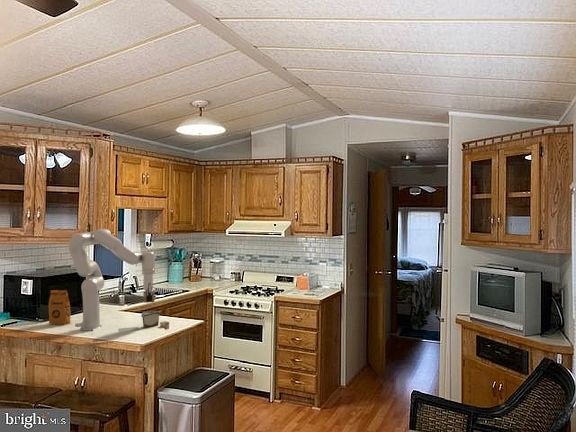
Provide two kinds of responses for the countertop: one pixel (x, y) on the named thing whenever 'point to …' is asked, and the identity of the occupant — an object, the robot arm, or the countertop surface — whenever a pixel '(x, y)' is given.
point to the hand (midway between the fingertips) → (148, 300)
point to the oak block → (164, 324)
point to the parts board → (128, 329)
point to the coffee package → (59, 307)
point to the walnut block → (146, 297)
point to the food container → (150, 318)
